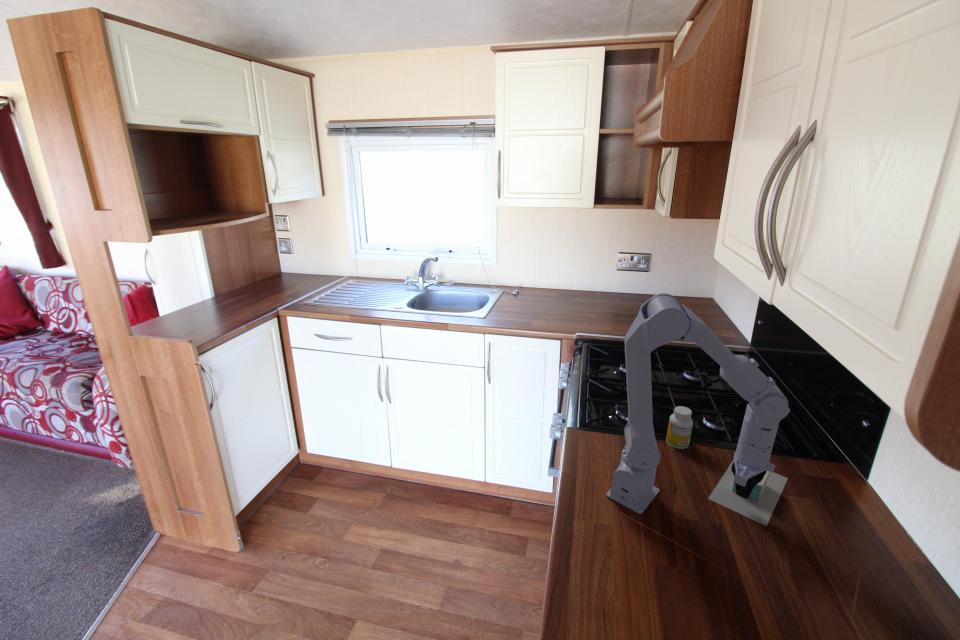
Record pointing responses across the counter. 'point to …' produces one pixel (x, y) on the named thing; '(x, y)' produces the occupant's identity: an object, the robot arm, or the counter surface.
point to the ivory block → (757, 488)
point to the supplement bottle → (680, 428)
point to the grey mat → (748, 507)
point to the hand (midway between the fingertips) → (742, 495)
